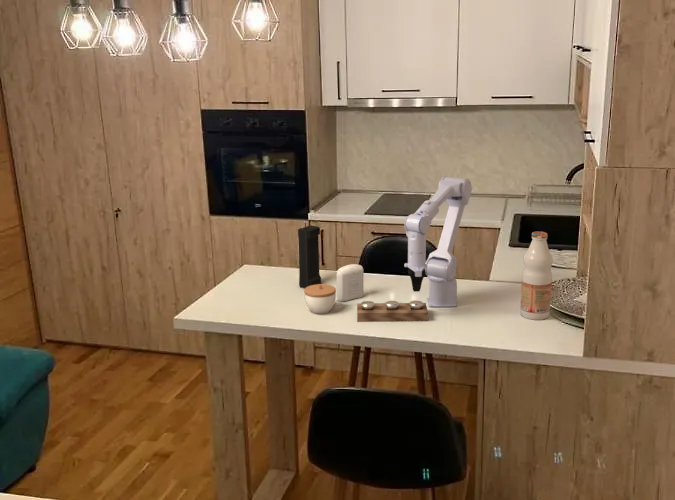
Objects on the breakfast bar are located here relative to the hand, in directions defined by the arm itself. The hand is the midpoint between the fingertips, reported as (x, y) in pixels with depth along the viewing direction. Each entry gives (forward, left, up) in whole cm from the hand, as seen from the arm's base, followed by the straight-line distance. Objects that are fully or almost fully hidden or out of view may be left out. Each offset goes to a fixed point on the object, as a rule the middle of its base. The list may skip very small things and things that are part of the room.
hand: (416, 290), depth 238 cm
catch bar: (+8, 0, -9) cm, 12 cm away
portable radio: (+37, -32, -9) cm, 50 cm away
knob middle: (+8, 0, -9) cm, 12 cm away
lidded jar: (+32, -6, -9) cm, 34 cm away
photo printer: (+22, -18, -9) cm, 30 cm away
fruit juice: (-39, 0, -9) cm, 40 cm away
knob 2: (0, 0, -9) cm, 9 cm away
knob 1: (+16, 0, -9) cm, 18 cm away
